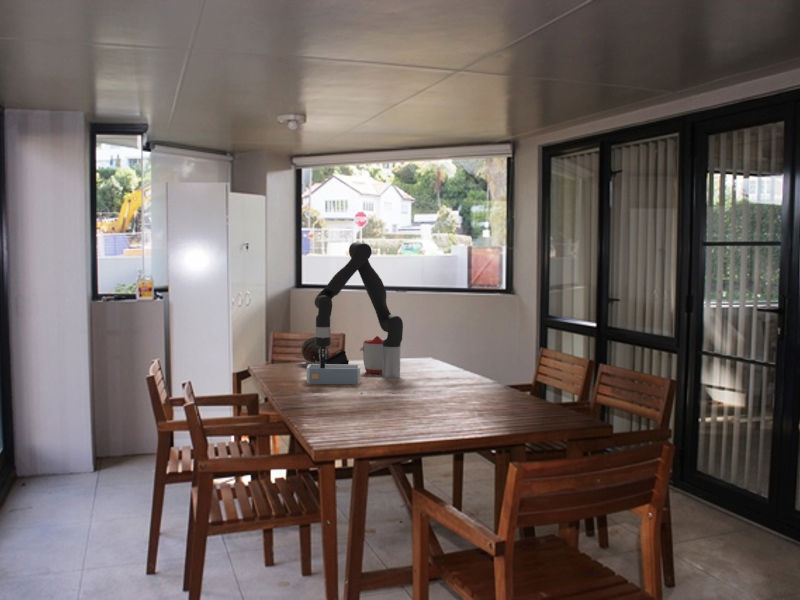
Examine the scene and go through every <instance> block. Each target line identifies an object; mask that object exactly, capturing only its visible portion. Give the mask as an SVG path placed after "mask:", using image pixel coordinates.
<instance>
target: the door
mask: <svg viewBox="0 0 800 600" xmlns="http://www.w3.org/2000/svg"><path fill="white" fill-rule="evenodd" d="M309 385H358V384H357V368H310V382H309Z"/></svg>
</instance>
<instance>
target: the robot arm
mask: <svg viewBox="0 0 800 600" xmlns="http://www.w3.org/2000/svg"><path fill="white" fill-rule="evenodd" d="M348 254H349V257H350V259H349V261H347V263H346V264H345V265H344V266H343V267H341V268H340V270H338V271H337V272H336V273H335V274H334V276H332V278H331V279H330V281H329V282H328V283H327V285H326V286H325V287H324V288H323V289H322V290H321V291H320V292H319V293H318V294H317V296H316V297H315V299H314V306H315V308H317V309H318V314H317V315H316V318H315V331H314V333H315V334H314V337H315V345H316V346H320V349H319V359H320V368H325V362H326V354H327V349H325V347H326V346H327V347H330V346H331V343H332V342H331V334H332V332H331V316H332V311H333V310H332V309H333V301H332V300H333V298H334V297H335V296H338V295H339V294H340V292H342V290H343V288H344V287H345V286H346V285H347V283H348V282H349V280H350V279H352V276H354V275H355V273H356V272H358V273H359V276H360V278H361V281H362V283H363V285H364V289H365V291H366V294H367V295H368V297H369V299H370V301H371V304H372V307H373V309H374V310H375V314H376V316H377V320H378V324H379V326H380V329H381V330H382V331H383V332H385V333H387V336H386V338H385V339H383V340H384V341H383V362H382V374H381V375H382V378H386V379H398V378H401V345H402V341H403V334H404V333H403V332H404V323H403V319H402V318H401V317H400V316H398V315H393V314H391V311H390V310H389V308H388V305H387V290H386V287H385V285H384V282H383V280H382V279H381V277H380V276H379V274H378V272H377V271H376V270H375V269H374V268H373V266H372V265H371V263H370V261H369V259H370V257H371V256H372V247H371V245H369V244H368V243H365V242H358V241H355V242H352V243H351V244H350V245H349V248H348Z"/></svg>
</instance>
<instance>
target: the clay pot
mask: <svg viewBox="0 0 800 600" xmlns="http://www.w3.org/2000/svg"><path fill="white" fill-rule="evenodd" d="M319 349H320V346H316V345H315V336H314V337H310V338H308V339H306V340H304V342H303V344H302V346H301V355H302V358H303V360H304V362H305V364H306V365H308V364H320V359H319ZM325 349H327V354H326V357H328V356H329V355H330V352H329V348H328V346H326V347H325ZM325 364H326V362H325Z"/></svg>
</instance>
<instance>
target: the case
mask: <svg viewBox="0 0 800 600" xmlns="http://www.w3.org/2000/svg"><path fill="white" fill-rule="evenodd" d="M310 368H320V364H307V366H306V384H310ZM325 368H357V384H356V385H360V384H361V364H349V365H342V364H325Z"/></svg>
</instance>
